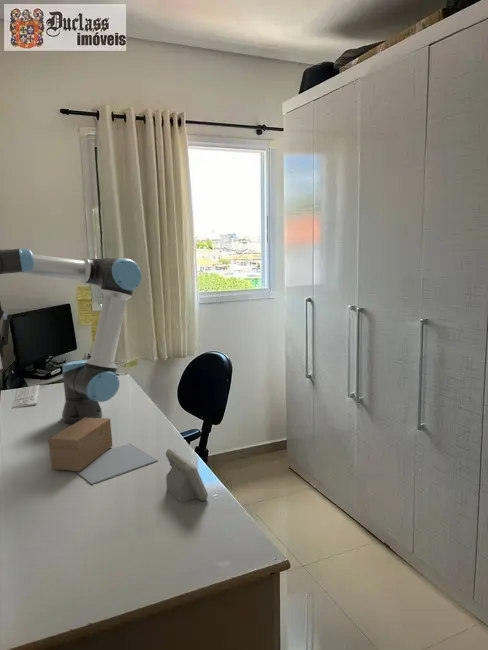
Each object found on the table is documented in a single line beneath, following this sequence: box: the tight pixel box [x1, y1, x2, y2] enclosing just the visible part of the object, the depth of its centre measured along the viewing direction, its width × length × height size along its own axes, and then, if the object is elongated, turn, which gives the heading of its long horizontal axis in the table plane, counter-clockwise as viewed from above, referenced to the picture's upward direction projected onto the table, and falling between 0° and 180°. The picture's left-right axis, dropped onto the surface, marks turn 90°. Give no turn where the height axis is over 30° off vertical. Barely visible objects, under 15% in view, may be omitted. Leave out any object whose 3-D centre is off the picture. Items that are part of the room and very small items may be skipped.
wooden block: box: [48, 417, 113, 472], centre depth 157 cm, size 10×10×20 cm
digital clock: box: [165, 448, 209, 503], centre depth 135 cm, size 16×9×11 cm, turn 22°
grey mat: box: [74, 443, 158, 486], centre depth 154 cm, size 22×18×1 cm
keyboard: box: [11, 384, 41, 409], centre depth 223 cm, size 29×10×2 cm, turn 20°
